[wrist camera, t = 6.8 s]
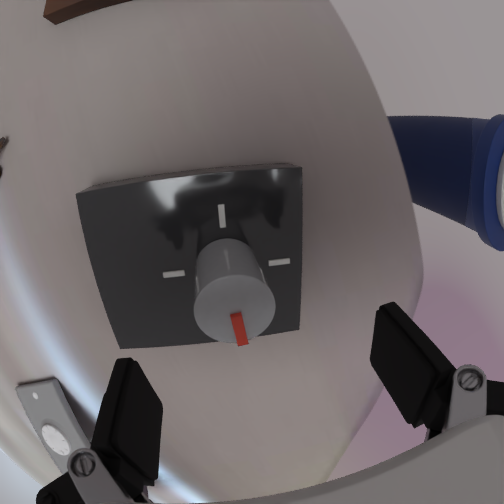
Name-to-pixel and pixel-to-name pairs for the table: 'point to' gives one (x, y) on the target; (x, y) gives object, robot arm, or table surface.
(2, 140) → the lion figurine
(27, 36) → the table surface
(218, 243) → the knob
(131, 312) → the dark grey dial base
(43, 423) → the light switch
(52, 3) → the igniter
